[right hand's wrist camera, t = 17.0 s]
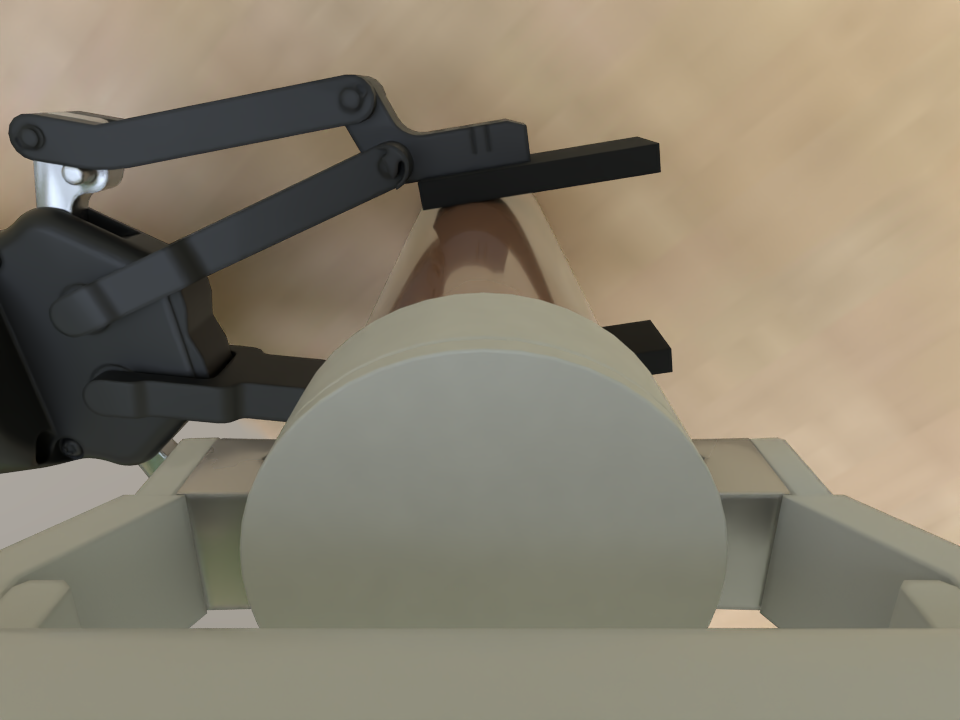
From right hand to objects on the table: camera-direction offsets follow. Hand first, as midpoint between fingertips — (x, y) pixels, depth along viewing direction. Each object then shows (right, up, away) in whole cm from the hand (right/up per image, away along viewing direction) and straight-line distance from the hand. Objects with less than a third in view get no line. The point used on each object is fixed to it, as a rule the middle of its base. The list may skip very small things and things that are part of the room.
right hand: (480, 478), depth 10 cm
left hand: (+5, +5, +10) cm, 12 cm away
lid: (0, -1, -2) cm, 2 cm away
